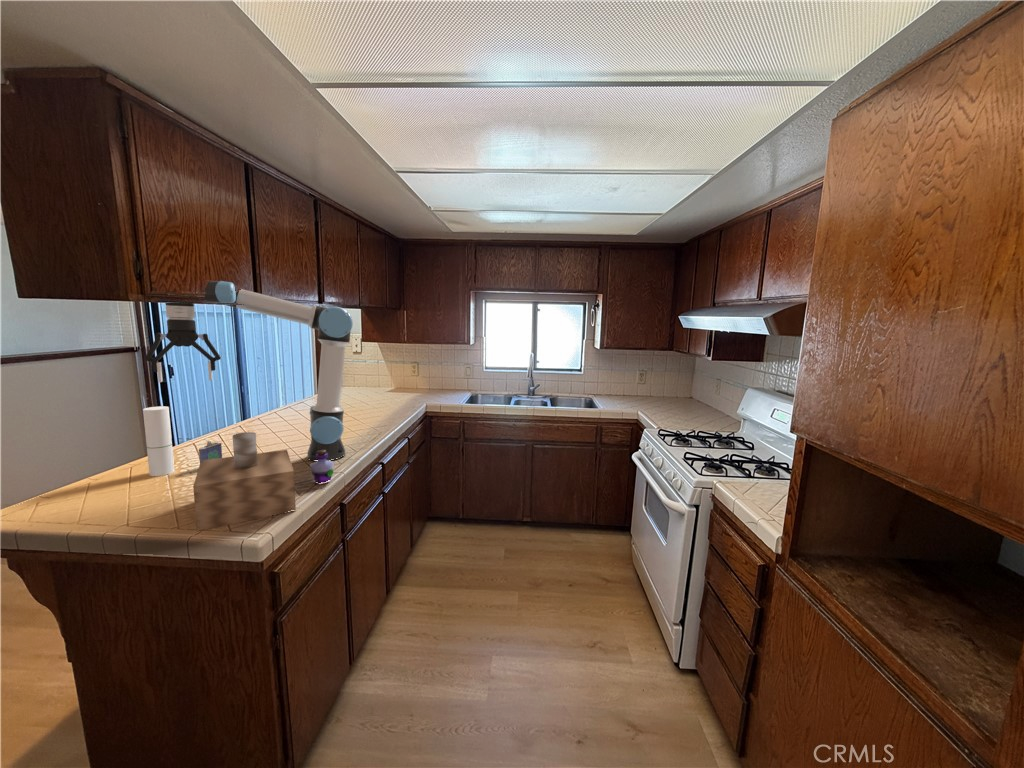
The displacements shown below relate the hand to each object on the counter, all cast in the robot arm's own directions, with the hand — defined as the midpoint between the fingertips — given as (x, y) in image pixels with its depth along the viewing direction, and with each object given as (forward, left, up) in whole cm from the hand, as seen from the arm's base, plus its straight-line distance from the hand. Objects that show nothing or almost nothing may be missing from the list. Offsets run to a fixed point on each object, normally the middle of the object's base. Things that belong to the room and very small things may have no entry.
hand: (186, 380), depth 139 cm
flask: (-4, -15, -37) cm, 40 cm away
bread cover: (-16, +31, -37) cm, 51 cm away
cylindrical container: (+11, -16, -37) cm, 42 cm away
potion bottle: (-39, +22, -37) cm, 58 cm away
